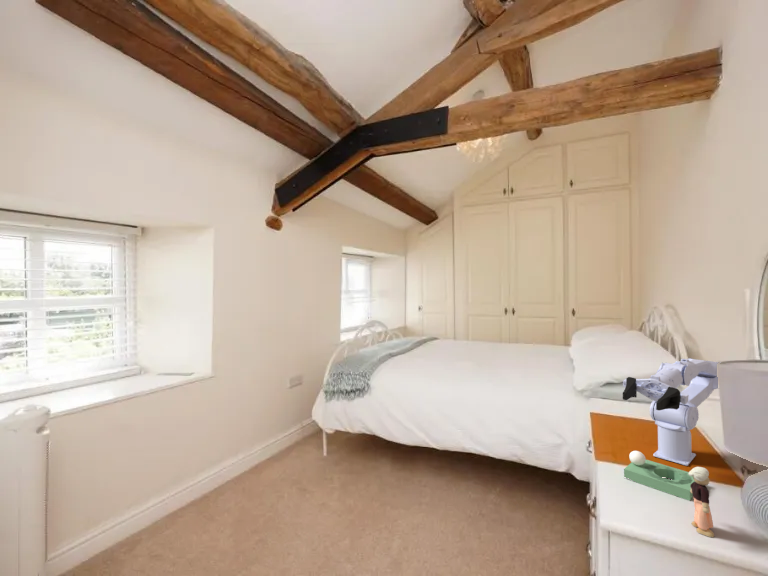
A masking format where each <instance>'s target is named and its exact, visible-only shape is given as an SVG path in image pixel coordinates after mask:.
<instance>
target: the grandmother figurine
mask: <svg viewBox="0 0 768 576" xmlns="http://www.w3.org/2000/svg"><path fill="white" fill-rule="evenodd" d="M688 472H689V473H688V474H689V475H690V476H692V477H693V479H694V481H695V482H693V483H692V484H691V485H690V487H691V490H690V492H691V493H692V494H693V497H692V498H693V506H694V516H693V517H694V518H693V521H691V525H692V527H695V528H696V530H695V531H696V533H698V534H700V535H703V536H706V537H709V538H714V537H715V533H714V532H713V530H711V529H713V528H714V523H713V522H714V521H713V515H712V512H711V508H710V507H711V506H710V499H709V498H710V491H709V489H708V487H707V485H708V484H710V478H709V476H710V475H709V474H710V472H709V470H708V469H707V468H705V467H702V466H695V467H693V468H692V469H691V470H689V471H688Z"/></svg>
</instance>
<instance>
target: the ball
mask: <svg viewBox="0 0 768 576" xmlns="http://www.w3.org/2000/svg"><path fill="white" fill-rule="evenodd" d="M628 457H629V461H630V463H631V462H632V463H633V464H635V465H638V466H640V465H643V464H644V463H645V461H646V460H647V458H646V456H645V454H643V453H642V452H641V451H639V450H633V451H631V452H630V453H629V456H628Z"/></svg>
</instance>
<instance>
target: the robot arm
mask: <svg viewBox="0 0 768 576" xmlns="http://www.w3.org/2000/svg"><path fill="white" fill-rule="evenodd" d="M719 362H720V361H719ZM719 362H718V361H713V360H703V359H696V358H695V359H694V358H690V357H688V358H681V359H680V360H676V361H675V362H673V363H672V362H661V363H660V364H659V368H658V369H657V371H656V373H655V374H652V375H650V377H649V378H636V377H631V376H628V377H626V378H625V379H623V381H622V387H623V388H625V389H623V391H622V400H624V401H628V400H629V399H631V398H637V395H638V393H639V394H641V395H642V396H643V397H646V398H648V399H650V400H652V401H651V403H650V405H649V415H650V418H651V419H652V421H654V425H656V426H657V450H656V451H655V452H654V453H653V455H652V456H653V457H656V458H659V459H662V460H665V461H670V462H674V463H676V464H680V465H683V466H686V467H687V466H689V465H690V464H691V462H692V461H693V460H694V458H695V457H697V454H696V453H694V452H692V433H691V430H693V429H694V428H696V426H697V422H698V421H699V419H700V418H699V415H700V414H699V409H698V407H699V406H700V405H701V404H702V403H703V402H704V401H706V400H707V399H708V398H709V397H710V395H711V394H712V393H713V392H714V390H717V389H719V388H718V377H717V364H718V363H719ZM680 386H686V388H684V389H683V390H681V391H680V389H678V388H679V387H680Z"/></svg>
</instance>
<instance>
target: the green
mask: <svg viewBox="0 0 768 576" xmlns="http://www.w3.org/2000/svg"><path fill="white" fill-rule="evenodd" d="M689 472H690V471H686V470H683V469H679V468H677V467H672V466H669V465H665V464H663V463H659V462H655V461H652V460H650V459H646V461H645V463H644V464H643V465H640V466H638V465H635V464H633V463H632V462H631V461H630V463H629V464H628V465H627V466H626V467H624V468H623V476H624V477H626V478H629V479H631V480H633V481H632V482H634V481H635V482H634V483H637V484H641V485H643V486H645V487H648V488H649V487H650V488H651V489H654V490H658V491H660V492H662V493H663V492H664V493H667V494H669V495H671V496H672V495H673V496H675V497H678V498H681V499H684V500H686V501H689V502H690V501H691V500H692V499H693V498H694V497H693V494H692V493H691V492H690V490H691V487H690V485H691V484H692V483H693V482H695V481H694V479H693V477H692V476H690V475H689V474H688V473H689ZM624 477H623V478H624ZM662 477H666V478H662ZM667 478H670V479H672V480H670V479H667ZM631 480H630V481H631Z"/></svg>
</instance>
